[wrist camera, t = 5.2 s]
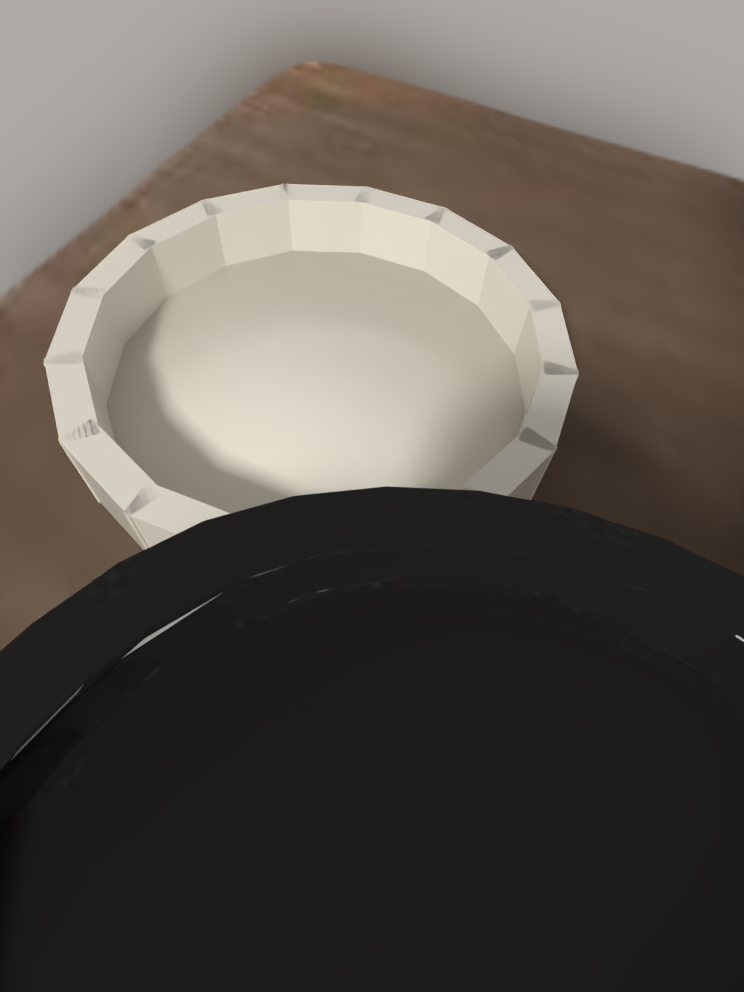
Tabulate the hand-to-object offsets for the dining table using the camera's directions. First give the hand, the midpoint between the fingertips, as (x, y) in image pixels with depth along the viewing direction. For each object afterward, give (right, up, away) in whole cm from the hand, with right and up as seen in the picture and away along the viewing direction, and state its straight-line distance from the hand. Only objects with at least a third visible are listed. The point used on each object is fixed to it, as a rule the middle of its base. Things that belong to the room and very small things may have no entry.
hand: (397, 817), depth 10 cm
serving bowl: (-3, +10, +14) cm, 17 cm away
